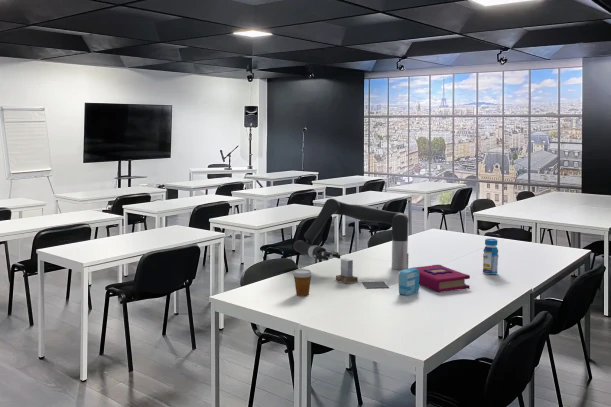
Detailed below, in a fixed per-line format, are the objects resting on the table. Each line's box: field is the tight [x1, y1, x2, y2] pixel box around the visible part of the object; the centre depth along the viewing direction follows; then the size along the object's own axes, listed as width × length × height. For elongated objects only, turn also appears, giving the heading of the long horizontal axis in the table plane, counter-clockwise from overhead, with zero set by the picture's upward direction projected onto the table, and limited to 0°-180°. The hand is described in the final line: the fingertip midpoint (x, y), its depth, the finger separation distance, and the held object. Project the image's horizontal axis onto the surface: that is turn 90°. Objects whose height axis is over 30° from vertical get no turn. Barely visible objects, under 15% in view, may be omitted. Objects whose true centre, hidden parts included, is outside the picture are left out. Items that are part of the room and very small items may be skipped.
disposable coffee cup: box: [293, 268, 313, 297], centre depth 280 cm, size 10×10×12 cm
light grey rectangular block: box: [340, 257, 354, 279], centre depth 305 cm, size 6×4×12 cm, turn 34°
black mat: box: [362, 280, 390, 290], centre depth 297 cm, size 12×12×1 cm
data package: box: [398, 267, 420, 296], centre depth 282 cm, size 12×4×12 cm, turn 136°
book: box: [413, 264, 471, 293], centre depth 300 cm, size 21×28×8 cm
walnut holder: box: [335, 274, 358, 285], centre depth 306 cm, size 10×7×2 cm
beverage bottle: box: [482, 238, 499, 275], centre depth 320 cm, size 8×8×20 cm
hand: (333, 257), depth 314 cm, fingers open, 8 cm apart
